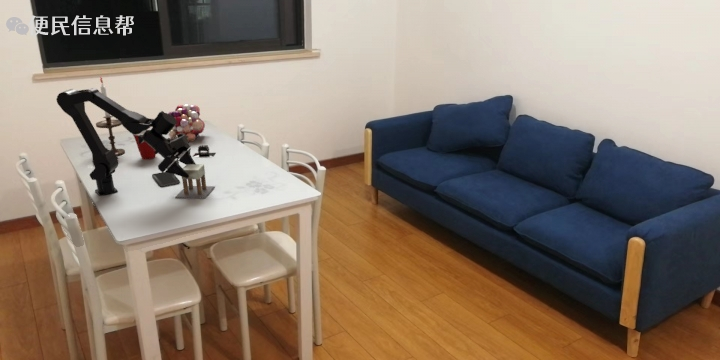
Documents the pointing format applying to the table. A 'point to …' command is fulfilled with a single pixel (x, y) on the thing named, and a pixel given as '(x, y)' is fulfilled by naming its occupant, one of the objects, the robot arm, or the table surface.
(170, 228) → the table surface
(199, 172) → the stool
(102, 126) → the candlestick
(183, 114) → the ornament
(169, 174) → the phone
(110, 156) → the robot arm
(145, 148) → the plastic cup
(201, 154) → the black brimmed piece
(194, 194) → the mat
